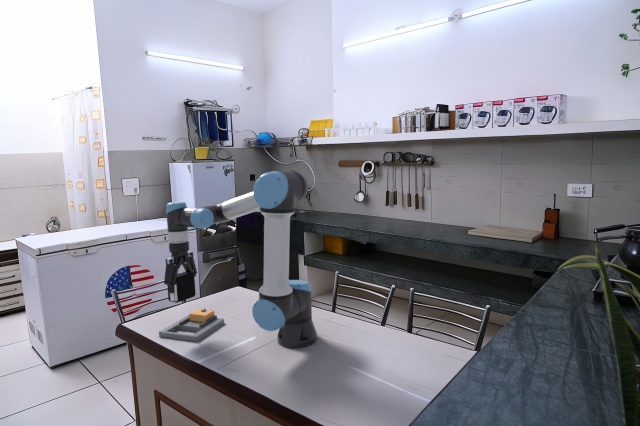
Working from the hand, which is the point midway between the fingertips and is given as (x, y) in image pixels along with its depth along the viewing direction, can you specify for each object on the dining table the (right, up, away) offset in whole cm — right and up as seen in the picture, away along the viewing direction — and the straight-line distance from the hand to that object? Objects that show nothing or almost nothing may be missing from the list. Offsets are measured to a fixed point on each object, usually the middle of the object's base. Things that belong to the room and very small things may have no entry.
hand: (182, 296), depth 163 cm
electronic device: (0, -1, 0) cm, 1 cm away
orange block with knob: (+4, -12, +12) cm, 18 cm away
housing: (+2, -15, +6) cm, 17 cm away
